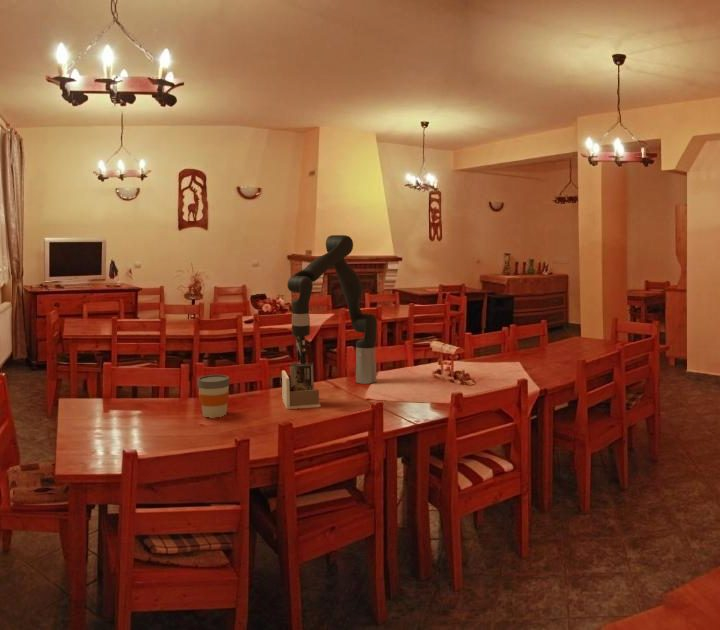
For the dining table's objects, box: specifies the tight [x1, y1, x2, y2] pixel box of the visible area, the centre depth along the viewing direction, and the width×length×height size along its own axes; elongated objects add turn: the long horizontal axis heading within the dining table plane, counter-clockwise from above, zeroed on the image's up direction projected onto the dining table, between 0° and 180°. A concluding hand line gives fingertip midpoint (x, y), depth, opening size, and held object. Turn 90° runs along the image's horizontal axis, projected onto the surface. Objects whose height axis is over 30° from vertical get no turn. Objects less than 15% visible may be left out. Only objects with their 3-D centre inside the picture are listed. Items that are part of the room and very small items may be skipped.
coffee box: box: [289, 362, 315, 391], centre depth 269 cm, size 9×6×16 cm
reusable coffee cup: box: [196, 374, 230, 419], centre depth 253 cm, size 13×13×15 cm
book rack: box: [281, 370, 321, 410], centre depth 270 cm, size 14×15×13 cm
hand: (301, 361), depth 268 cm, fingers open, 8 cm apart
